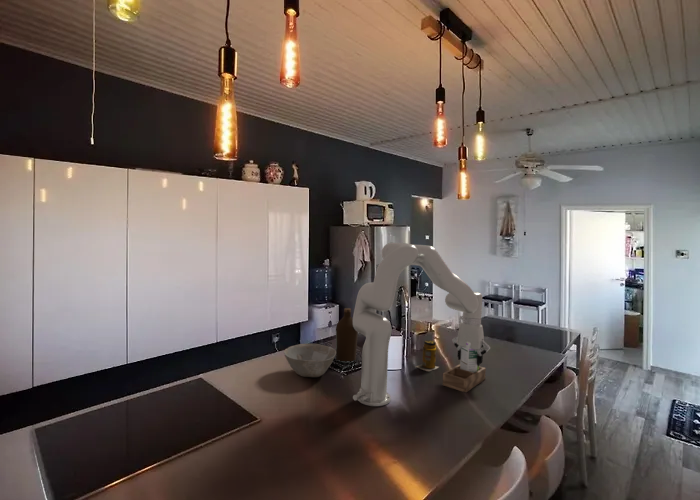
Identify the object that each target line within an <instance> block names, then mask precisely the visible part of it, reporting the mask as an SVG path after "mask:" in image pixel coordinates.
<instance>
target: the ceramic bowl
mask: <svg viewBox="0 0 700 500" xmlns="http://www.w3.org/2000/svg"><path fill="white" fill-rule="evenodd" d="M283 354H284V357H285V359H286V361H287V362H288V364H289V366H290V367H291V369H292V370H293V371H294V372H295V373H296V374H297V375H298V376H301V377H303V378H320V377H322V376H323V375H324V374H325V373H326V372H327V371H328V369H329V368H330V366H331V364H333V361H334V359H335V358H336V348H333V347H330V346H328V345H324V344H319V343H299V344H295V345H291V346H288V347H287V348H285V349H284V350H283Z"/></svg>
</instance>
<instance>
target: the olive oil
mask: <svg viewBox="0 0 700 500" xmlns="http://www.w3.org/2000/svg"><path fill="white" fill-rule="evenodd" d="M358 335H359V333H358V332H357V331H356V330H355V329H354V327H353V316H352V308H350V307H346V308H344V311H343V317H342V318H340V320H339V321H338V322H337V323H336V327H335V350H336V355H335V359H337V360H340V361H353V360H357V349H358V348H357V346H358V338H359V337H358Z"/></svg>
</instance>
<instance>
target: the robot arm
mask: <svg viewBox="0 0 700 500" xmlns="http://www.w3.org/2000/svg"><path fill="white" fill-rule="evenodd" d="M381 257H382V260H381V261H380V263H379V264H378V266H377V268H376V272H375V275H374V279H373V282H366V283H365V284H363V285H362V286H361V287H360V289H359V290H358V293H357V296H356V300H355V306H354V310H353V316H352V319H353V327H354V329H355V330H356V331H357V332H358V334H360V335H362V336H364V337H365V341H364V344H363V345H362V352H361V375H360V376H361V377H360V378H361V381H360V383H361V384H360V388H359V391H358V392H357V393H355V394H354V395H353V396H352V399H353V400H354V401H355V402H356V401H358V403H361V404H363V405H365V406H370V407H382V406H385V405H387V404H389V403H390V402H391V398H392V397H391V394H389V392H388V391H387V390H388V389H387V388H388V365H389V363H388V362H389V346H390V340H391V336H392V331H393V330H392V325H391V322H390V320H389V319H388V318H387V317H385V316H383V315H382V314H379V313H377V311H378V312H387V311H389V310H391V309H392V306H393V304H394V302H395V301H394V300H395V295H396V290H397V285H398V281H399V277H400V275H401V274H402V272H403V271H404V270H405V269H406V268H408V267H409V266H418V267H421V268H422V269H423V271H424V272H425V274H426V275H427V277H428V278H429V279H430V281H431V282H432V284H434V286H437V287H438V288H440V289H441V290H443V291H445V292H447V294H446V296H445V299H444V300H445V301H444V302H445V305H446V306H447V307H448V308H449V309H452V310H454V311H459V312H462V315H461V316H459V320H461V322H460V323H459V327H458V331H457V336H455V337H453V338H452V339H451V341H452V343H453V345H454V347H455V348H456V351H457V359H458V360H459V361H460V359H461V347H466V342H470V343H471V349H473V350H477V352H478V354H479V355H478V356H477V365H479V366H480V365H481V364H483V361H484V360H483V357H484V355H485V354H486V353H488V351H489V350H491V346H490V345H489V344H488V342H486V341H485V340H484V339H485V337H484V335H485V334H484V328H483V324H482V313H483V311H482V309H483V294H482V293H480V292H477V291H474V290H473V289H472V288H471V287H470V286H469V285H468V284H467V283H466V282H465V281H464V280H462V278H460V277H459V276H458V275H456V274H455V273H453V272H452V270H451V269H450V268H449V267H448V264H446V262H445V261H444V259H443V258H442V256H441V255H440V254H439V252H438V251H437V249H436V248H434V247H433V246H432V245H428V244H427V245H425V244H413V243H412V244H411V243H408V242H407V243H406V242H389V243H386V244H384V246H383V247H382V250H381ZM483 348H484V349H483Z"/></svg>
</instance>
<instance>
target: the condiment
mask: <svg viewBox="0 0 700 500" xmlns="http://www.w3.org/2000/svg"><path fill="white" fill-rule="evenodd" d="M423 343H424V344H423V346H422V359H421V360H422V361H421V364H419V365H416V366H415V368H418V369H420V370H423V371H426V372H431V371H433V370H437V369H439V368H440V366H436V359H437V347H436V346H437V343H436V341H435V340H430V339H429V340H428V339H426V340H424V341H423Z"/></svg>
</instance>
